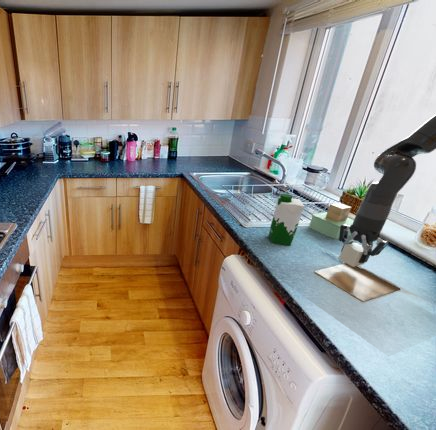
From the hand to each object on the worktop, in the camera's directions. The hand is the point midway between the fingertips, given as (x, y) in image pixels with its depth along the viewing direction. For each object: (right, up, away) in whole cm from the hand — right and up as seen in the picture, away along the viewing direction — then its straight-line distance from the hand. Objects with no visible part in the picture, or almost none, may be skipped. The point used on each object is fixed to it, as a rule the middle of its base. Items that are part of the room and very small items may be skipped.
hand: (352, 258), depth 100 cm
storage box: (+12, +6, +26) cm, 29 cm away
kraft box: (+12, +14, +23) cm, 29 cm away
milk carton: (-14, +4, +21) cm, 25 cm away
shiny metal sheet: (-2, -7, -4) cm, 8 cm away
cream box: (0, -1, +1) cm, 1 cm away
